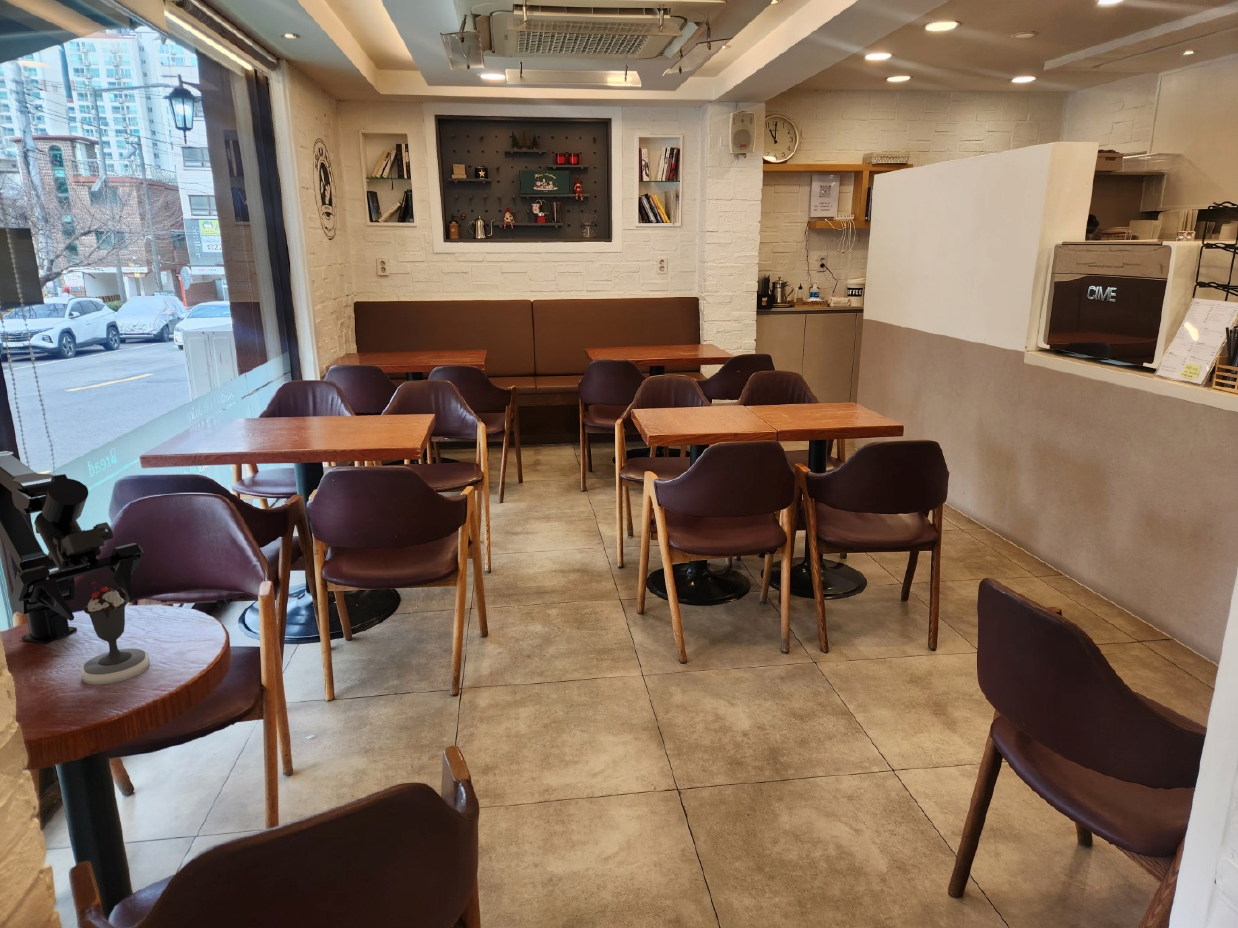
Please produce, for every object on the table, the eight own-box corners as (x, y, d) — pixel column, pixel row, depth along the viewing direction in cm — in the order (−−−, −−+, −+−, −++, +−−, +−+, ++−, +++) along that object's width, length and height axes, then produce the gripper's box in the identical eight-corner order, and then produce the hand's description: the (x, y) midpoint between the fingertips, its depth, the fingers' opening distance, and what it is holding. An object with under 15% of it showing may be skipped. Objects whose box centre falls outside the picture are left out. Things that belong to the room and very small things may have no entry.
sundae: (90, 671, 131) (75, 587, 128) (94, 655, 137) (80, 574, 133) (136, 662, 134) (123, 580, 131) (138, 647, 140) (125, 567, 136)
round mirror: (67, 679, 132) (65, 668, 132) (121, 654, 142) (119, 644, 141) (111, 688, 129) (109, 677, 129) (163, 661, 139) (161, 651, 138)
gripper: (8, 525, 126) (49, 603, 122) (131, 499, 141) (171, 569, 137) (-3, 562, 132) (36, 638, 128) (117, 534, 147) (154, 601, 143)
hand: (102, 610), depth 134 cm, fingers open, 9 cm apart
